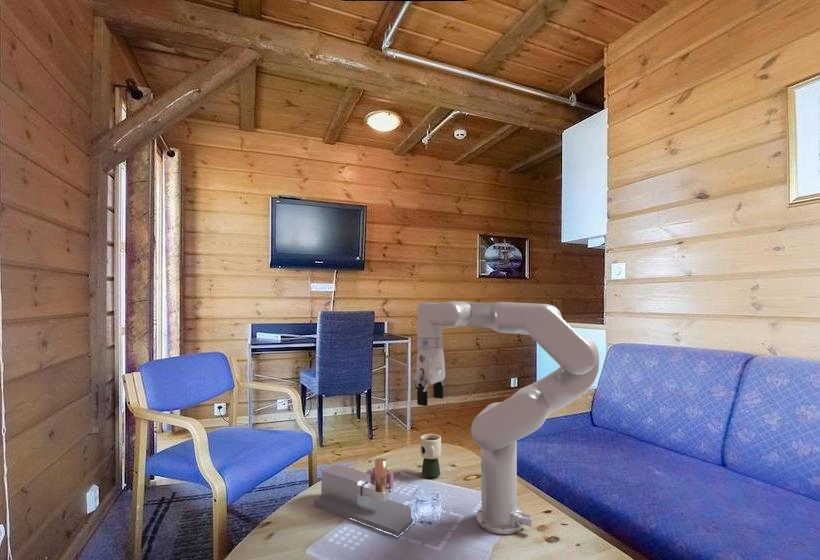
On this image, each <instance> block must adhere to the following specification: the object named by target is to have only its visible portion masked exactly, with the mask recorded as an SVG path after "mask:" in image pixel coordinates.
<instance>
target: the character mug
mask: <svg viewBox="0 0 820 560" xmlns="http://www.w3.org/2000/svg"><path fill="white" fill-rule="evenodd" d="M419 449H420V456H421V457H422V458H423V460H422V468H421V474H422V476H423V477H425V478H431V479H432V478H435V477H439V476H440V475H441V470H440V467H441V466H440V462H439V458H441V456H442V436H440V435H438V434H435V433H426V434H422V435H421V436H420V448H419Z"/></svg>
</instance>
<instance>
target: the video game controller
mask: <svg viewBox="0 0 820 560" xmlns="http://www.w3.org/2000/svg"><path fill="white" fill-rule="evenodd" d="M365 473H368V474H371V484H372V485H375V467H372V468H369V469H367V470H366V472H365ZM394 475H395V474H394V472H393V471H392V470H390V469H388V468H386V485H387V486H388V490H389V489H392V488H393V489H394V482H395V477H394ZM393 489H392V490H393Z"/></svg>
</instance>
